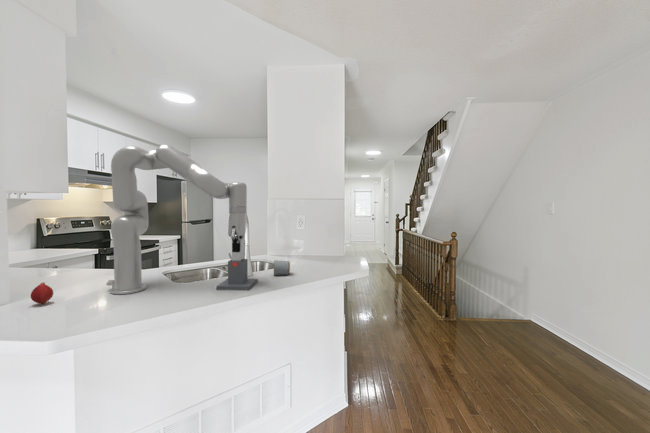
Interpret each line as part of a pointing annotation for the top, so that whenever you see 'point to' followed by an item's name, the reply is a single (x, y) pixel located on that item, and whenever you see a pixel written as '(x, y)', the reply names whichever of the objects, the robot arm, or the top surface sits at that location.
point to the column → (239, 255)
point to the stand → (237, 277)
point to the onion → (42, 293)
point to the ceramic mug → (281, 267)
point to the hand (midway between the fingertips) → (237, 250)
